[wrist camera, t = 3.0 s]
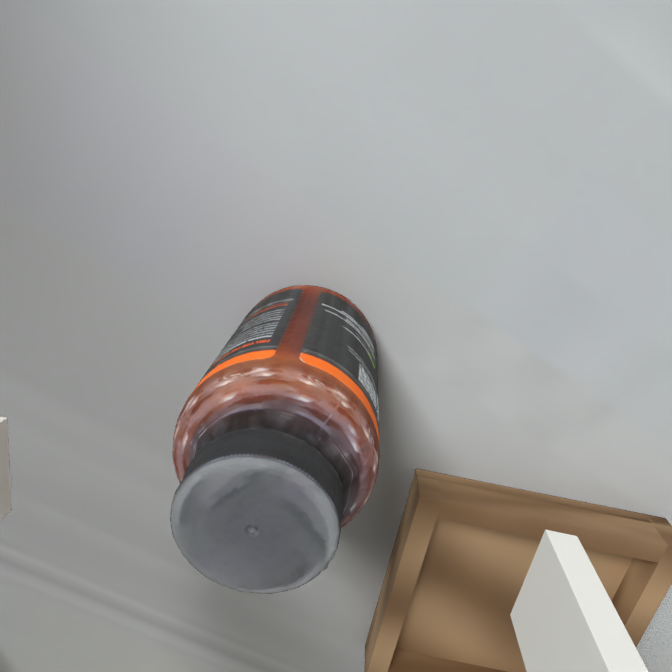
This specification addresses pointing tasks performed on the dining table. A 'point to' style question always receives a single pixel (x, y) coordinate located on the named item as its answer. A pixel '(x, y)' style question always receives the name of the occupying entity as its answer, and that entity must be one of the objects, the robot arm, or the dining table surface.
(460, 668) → the walnut tray
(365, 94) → the dining table surface
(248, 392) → the supplement bottle
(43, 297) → the dining table surface
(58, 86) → the dining table surface
